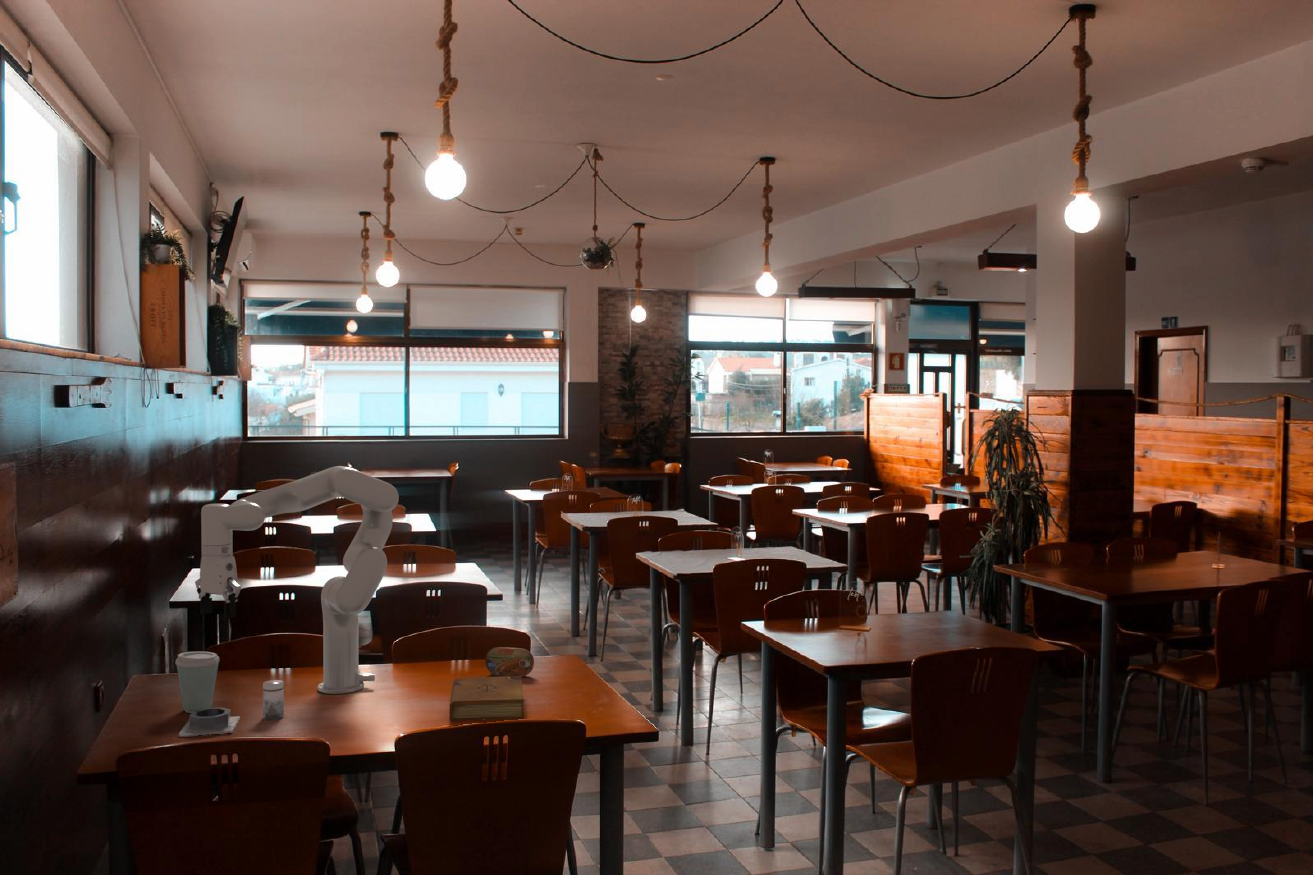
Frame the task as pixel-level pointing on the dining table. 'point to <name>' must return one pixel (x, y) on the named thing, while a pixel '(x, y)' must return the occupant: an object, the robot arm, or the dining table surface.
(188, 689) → the disposable coffee cup
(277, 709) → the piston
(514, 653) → the tin
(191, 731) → the ring jig
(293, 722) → the dining table surface
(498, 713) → the diary
